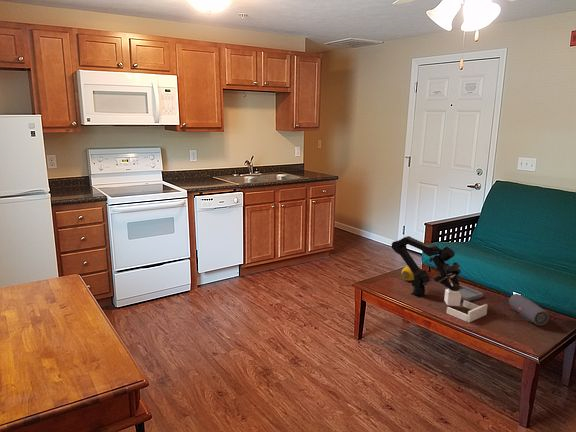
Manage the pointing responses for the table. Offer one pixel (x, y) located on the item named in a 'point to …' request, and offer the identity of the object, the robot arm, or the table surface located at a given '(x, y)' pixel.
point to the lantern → (408, 274)
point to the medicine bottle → (453, 295)
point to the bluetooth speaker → (528, 309)
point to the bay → (472, 314)
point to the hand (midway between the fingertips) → (455, 288)
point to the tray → (468, 293)
